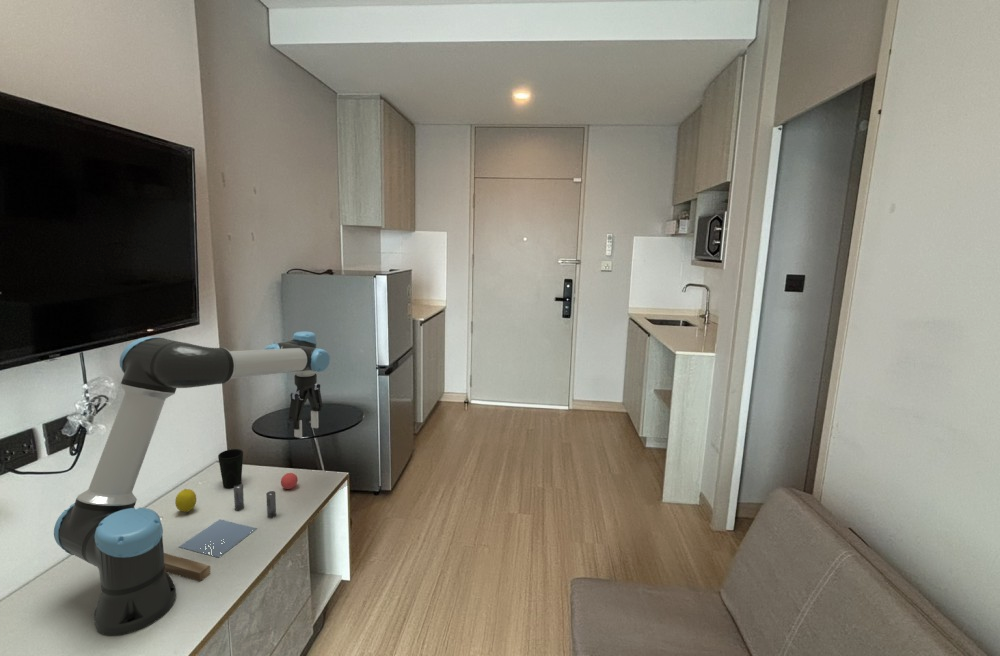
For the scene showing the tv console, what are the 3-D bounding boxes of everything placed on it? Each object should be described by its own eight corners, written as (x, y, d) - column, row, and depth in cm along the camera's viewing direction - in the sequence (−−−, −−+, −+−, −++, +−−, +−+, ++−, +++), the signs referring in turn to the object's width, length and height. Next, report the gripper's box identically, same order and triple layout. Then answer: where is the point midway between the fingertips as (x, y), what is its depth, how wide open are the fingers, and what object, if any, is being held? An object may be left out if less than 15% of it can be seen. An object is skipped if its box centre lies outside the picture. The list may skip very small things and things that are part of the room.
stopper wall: (200, 581, 117) (199, 573, 117) (140, 564, 122) (139, 556, 121) (210, 573, 120) (209, 565, 119) (151, 557, 125) (150, 549, 124)
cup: (221, 481, 165) (219, 450, 163) (245, 478, 168) (243, 447, 166) (218, 492, 158) (216, 460, 156) (243, 488, 161) (242, 456, 159)
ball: (290, 493, 160) (290, 478, 159) (277, 490, 161) (277, 476, 160) (301, 485, 165) (300, 471, 164) (288, 482, 166) (287, 469, 165)
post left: (239, 511, 148) (238, 488, 146) (232, 509, 148) (231, 487, 147) (245, 507, 150) (244, 484, 149) (239, 505, 151) (238, 483, 149)
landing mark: (218, 558, 126) (218, 557, 126) (178, 547, 129) (178, 546, 129) (257, 528, 139) (257, 528, 139) (219, 519, 143) (219, 519, 143)
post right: (272, 518, 145) (271, 495, 143) (265, 517, 145) (264, 494, 144) (278, 514, 147) (277, 491, 146) (271, 512, 148) (270, 490, 146)
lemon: (201, 508, 148) (199, 485, 147) (188, 517, 143) (186, 494, 141) (185, 506, 149) (183, 483, 147) (171, 516, 143) (170, 492, 142)
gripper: (315, 365, 177) (316, 420, 181) (275, 380, 156) (277, 441, 160) (332, 368, 175) (332, 423, 179) (294, 383, 154) (295, 445, 158)
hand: (306, 432), depth 169 cm, fingers open, 9 cm apart
